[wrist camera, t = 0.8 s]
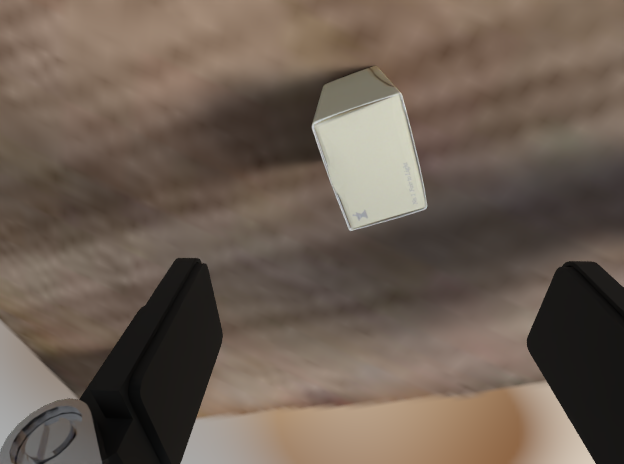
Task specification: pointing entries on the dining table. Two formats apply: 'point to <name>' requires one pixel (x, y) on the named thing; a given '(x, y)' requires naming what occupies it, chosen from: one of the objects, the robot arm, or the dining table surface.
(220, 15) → the dining table surface
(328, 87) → the skincare box
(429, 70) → the dining table surface
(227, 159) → the dining table surface
